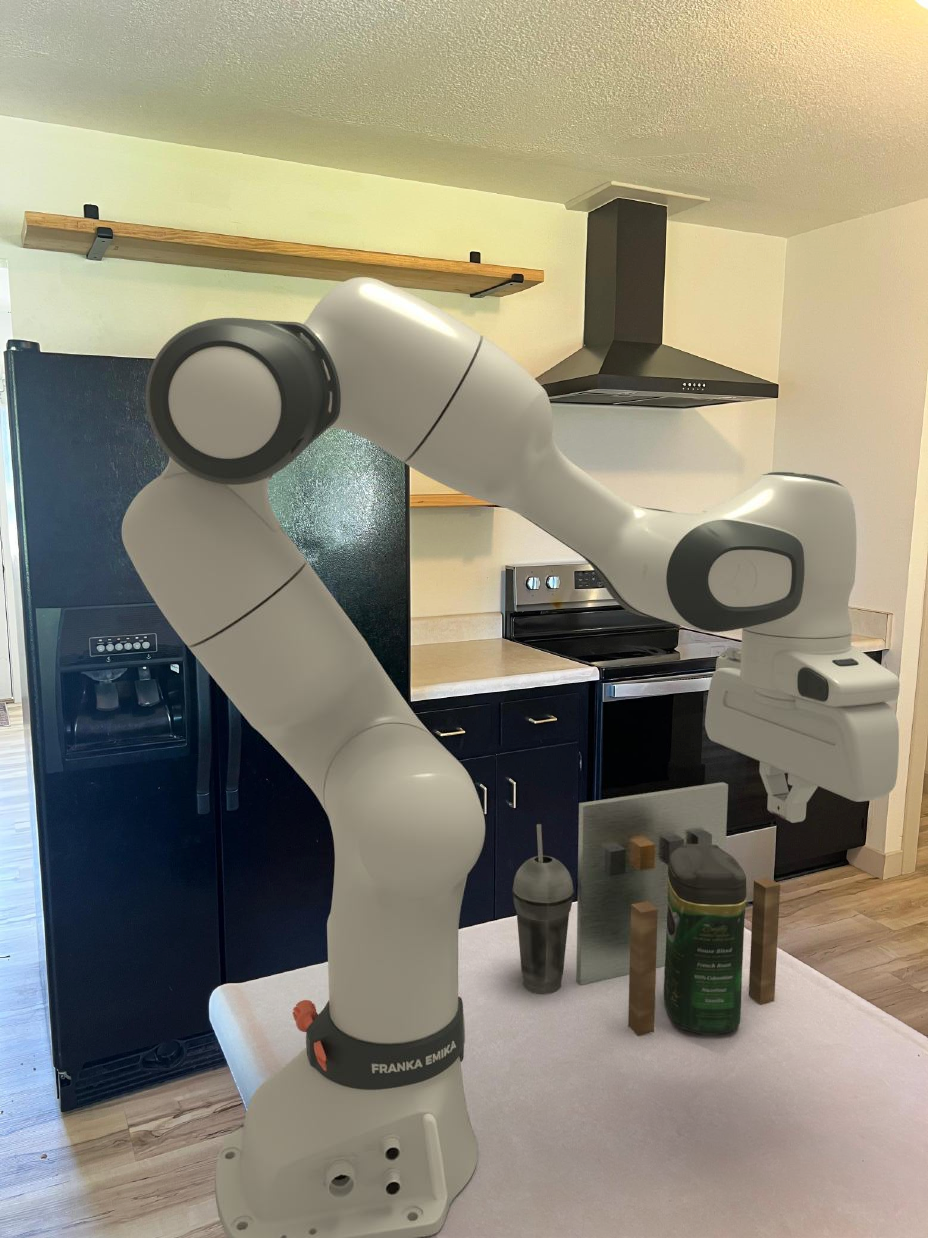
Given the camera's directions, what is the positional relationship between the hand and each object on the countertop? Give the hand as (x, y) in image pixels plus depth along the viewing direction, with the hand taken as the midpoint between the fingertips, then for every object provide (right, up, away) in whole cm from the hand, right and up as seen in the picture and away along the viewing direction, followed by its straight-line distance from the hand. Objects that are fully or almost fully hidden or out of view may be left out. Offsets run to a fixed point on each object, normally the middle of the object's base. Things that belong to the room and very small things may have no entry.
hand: (786, 816), depth 79 cm
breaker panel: (-6, -25, +30) cm, 40 cm away
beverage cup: (-19, -26, +27) cm, 42 cm away
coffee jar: (-2, -27, +21) cm, 34 cm away
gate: (-2, -26, +20) cm, 33 cm away
